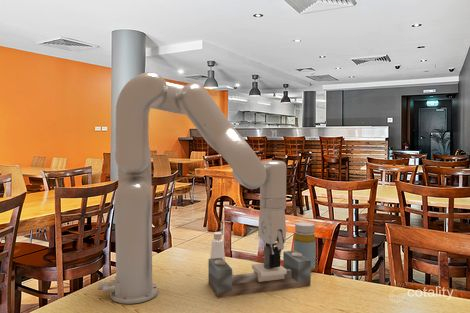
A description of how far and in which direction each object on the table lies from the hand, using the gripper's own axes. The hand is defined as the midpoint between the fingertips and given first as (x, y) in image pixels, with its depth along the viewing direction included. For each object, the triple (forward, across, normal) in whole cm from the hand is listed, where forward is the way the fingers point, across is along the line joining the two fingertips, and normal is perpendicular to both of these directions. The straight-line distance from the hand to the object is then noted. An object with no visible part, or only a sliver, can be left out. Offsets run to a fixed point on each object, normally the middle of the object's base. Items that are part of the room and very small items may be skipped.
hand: (272, 264), depth 111 cm
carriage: (+4, 0, -1) cm, 4 cm away
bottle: (+6, -8, +15) cm, 18 cm away
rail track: (+6, 0, -4) cm, 7 cm away
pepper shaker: (+6, -20, -11) cm, 24 cm away
